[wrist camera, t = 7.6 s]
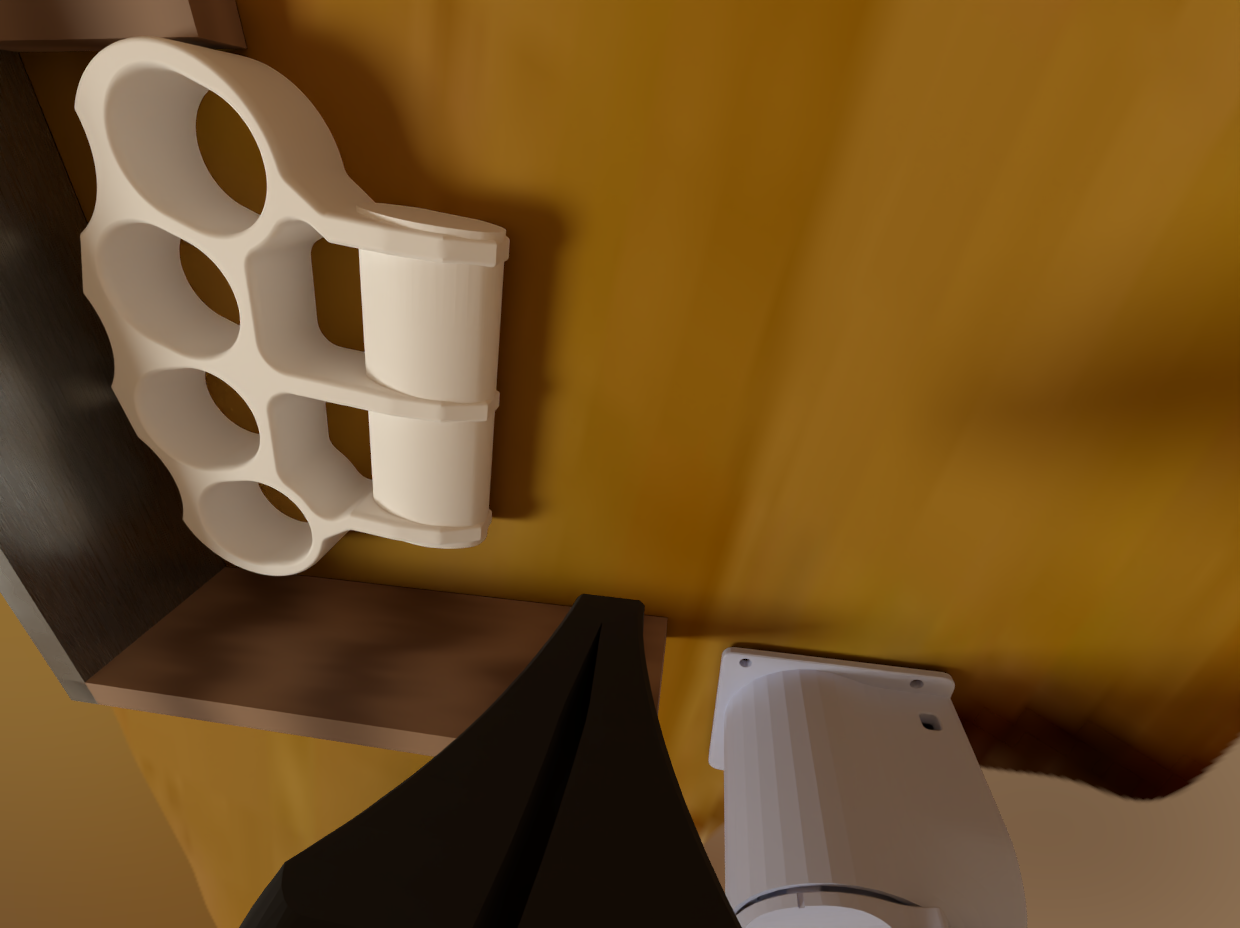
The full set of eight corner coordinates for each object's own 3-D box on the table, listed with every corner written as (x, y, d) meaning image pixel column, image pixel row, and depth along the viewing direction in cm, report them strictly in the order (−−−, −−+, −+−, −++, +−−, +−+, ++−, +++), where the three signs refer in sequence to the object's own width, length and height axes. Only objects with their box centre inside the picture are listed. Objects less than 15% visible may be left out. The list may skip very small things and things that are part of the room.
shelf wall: (709, -18, 14) (702, -148, 8) (666, 638, 25) (649, 789, 19) (-35, 5, 17) (-443, -81, 11) (211, 583, 28) (71, 699, 22)
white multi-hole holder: (495, 572, 26) (193, 501, 26) (529, 110, 17) (75, 24, 18) (466, 625, 23) (127, 544, 23) (490, 99, 14) (-54, -4, 15)
